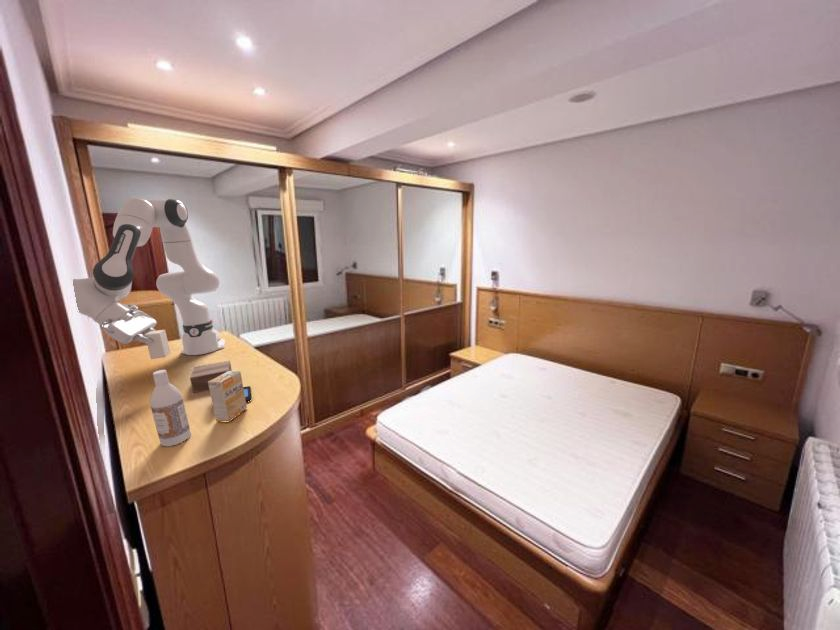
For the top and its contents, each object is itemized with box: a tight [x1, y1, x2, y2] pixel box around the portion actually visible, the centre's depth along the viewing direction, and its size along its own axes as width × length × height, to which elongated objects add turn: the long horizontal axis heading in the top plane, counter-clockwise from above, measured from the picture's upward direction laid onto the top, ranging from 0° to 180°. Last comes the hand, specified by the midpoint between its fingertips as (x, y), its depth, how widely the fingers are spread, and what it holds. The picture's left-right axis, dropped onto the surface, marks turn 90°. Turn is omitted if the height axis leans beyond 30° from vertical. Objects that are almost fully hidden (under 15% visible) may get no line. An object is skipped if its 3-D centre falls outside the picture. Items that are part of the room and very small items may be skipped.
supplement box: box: [208, 370, 248, 422], centre depth 104 cm, size 8×5×13 cm, turn 168°
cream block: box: [144, 329, 172, 360], centre depth 123 cm, size 4×4×9 cm
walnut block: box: [189, 360, 233, 394], centre depth 130 cm, size 12×12×6 cm
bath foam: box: [149, 369, 192, 447], centre depth 92 cm, size 7×7×20 cm
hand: (155, 340), depth 123 cm, fingers closed on cream block, 4 cm apart
